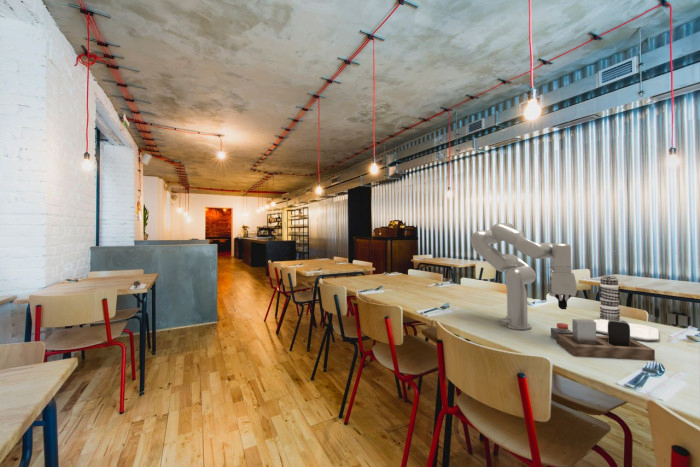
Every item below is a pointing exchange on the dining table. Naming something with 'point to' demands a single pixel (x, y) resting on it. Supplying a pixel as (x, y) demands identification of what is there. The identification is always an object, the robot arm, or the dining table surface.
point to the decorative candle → (609, 298)
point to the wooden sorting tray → (599, 344)
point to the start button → (562, 326)
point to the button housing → (559, 332)
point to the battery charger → (618, 333)
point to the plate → (631, 330)
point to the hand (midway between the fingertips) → (562, 308)
